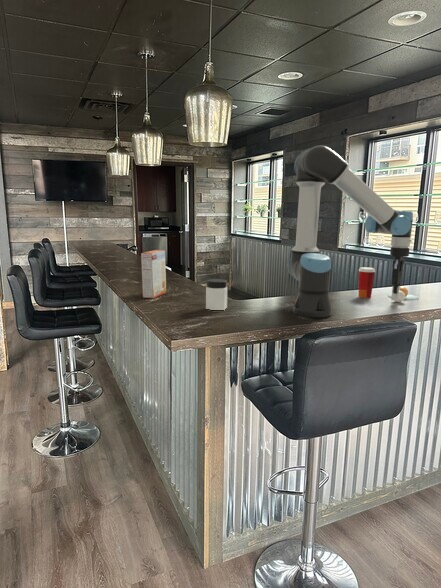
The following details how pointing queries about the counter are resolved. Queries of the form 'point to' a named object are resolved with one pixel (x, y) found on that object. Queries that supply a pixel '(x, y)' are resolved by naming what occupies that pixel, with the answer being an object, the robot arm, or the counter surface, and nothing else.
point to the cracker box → (153, 273)
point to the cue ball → (401, 296)
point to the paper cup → (366, 281)
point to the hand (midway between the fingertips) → (394, 300)
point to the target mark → (407, 297)
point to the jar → (216, 294)
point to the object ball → (404, 290)
